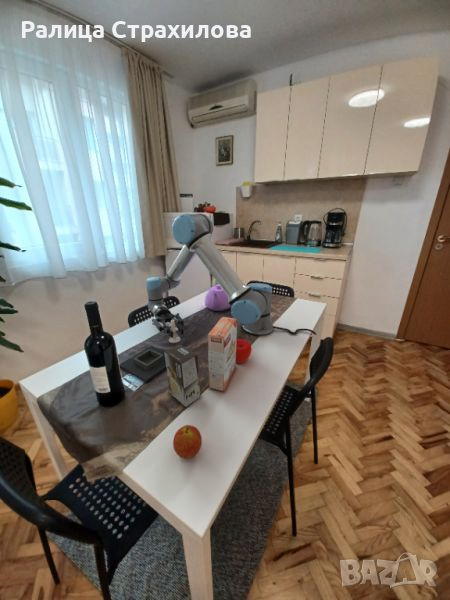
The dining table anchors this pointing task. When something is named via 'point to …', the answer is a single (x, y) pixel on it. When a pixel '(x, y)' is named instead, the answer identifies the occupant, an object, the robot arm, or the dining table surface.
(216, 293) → the teapot
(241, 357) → the apple
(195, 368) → the coffee box
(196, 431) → the fruit
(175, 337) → the white tall tiered piece
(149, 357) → the socket pad
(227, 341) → the cracker box
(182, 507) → the dining table surface
